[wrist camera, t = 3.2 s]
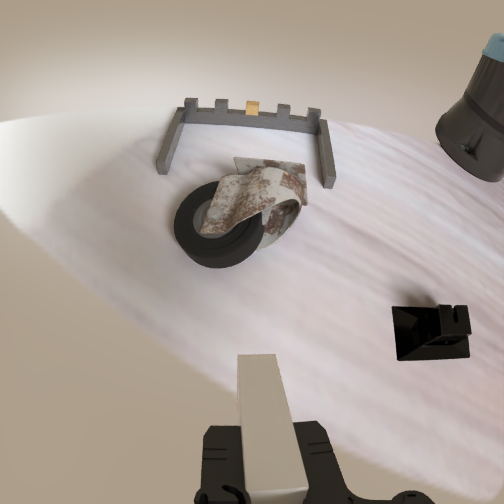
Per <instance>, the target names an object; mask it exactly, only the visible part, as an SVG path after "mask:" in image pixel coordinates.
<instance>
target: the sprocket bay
mask: <svg viewBox="0 0 504 504" xmlns="http://www.w3.org/2000/svg"><path fill="white" fill-rule="evenodd" d="M184 105H185V107H178V108H177V111H176V113H175V116H174V118H173V120H172V123H171V125H170V128H169V130H168V133H167V135H166V138H165V141H164V143H163V146H162V148H161V151H160V154H159V156H158V159H157V167H158V172H159V174H166V175H167V174H168V171H169V167H170V164H171V161H172V158H173V155H174V152H175V149H176V146H177V143H178V140H179V137H180V135H181V132H182V129H183V126H184V123H194V124H216V125H232V126H246V127H257V128H268V129H278V130H286V131H295V132H303V133H310V134H317V137H318V144H319V152H320V160H321V168H322V177H323V186H324V188H329V189H332V188H333V185H334V182H335V180H336V171H335V165H334V159H333V153H332V147H331V141H330V135H329V130H328V125H327V120H324V119H320V116H321V110H320V109H316V108H308V111H307V116H306V117H303V116H295V115H289V114H290V105H285V104H278V106H277V113H269V112H258V109H259V102H256V101H247V103H246V110H233V109H228V99H216V101H215V108H198V98H186V99H185V101H184Z"/></svg>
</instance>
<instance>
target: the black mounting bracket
mask: <svg viewBox="0 0 504 504" xmlns="http://www.w3.org/2000/svg"><path fill="white" fill-rule="evenodd" d="M392 314H393V323H394V332H395V342H396V353H397V360H398V361H416V360H441V359H458V358H469V357H470V351H469V341H468V336H469V335H471V334H472V332H471V325H470V319H469V313H468V307H467V305H455V306H454V308H452V305H441V304H439V305H438V306H437V307H435V308H428V307H400V306H392Z"/></svg>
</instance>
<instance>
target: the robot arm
mask: <svg viewBox="0 0 504 504" xmlns="http://www.w3.org/2000/svg"><path fill="white" fill-rule="evenodd" d="M482 53H483V55H482V57H481V59H480V61H479V64H478V66H477V68H476V70H475V72H474V74H473V76H472V78H471V80H470V82H469V84H468V87H467V89H466V90H465V92H464V95H463V96H462V98H461V99H460V100H459V101H458V102H457V103H456V104H455V105H454V106H453V107H452V108H450V110H449V111H448V112H447V113H445V114H443V115H442V116H441V118H440V119H439V121H438V123H437V125H436V128H435V132H436V136H437V138H438V140H439V142H440V144H441V145H442V147H443V148H444V149H445V150H446V152H447V153H448V154H449V155H450V156H451V157H452V158H453V159H454V160H455V161H456V162H457V163H458V164H459V165H460V166H462V167H463V168H464V169H466V170H467V171H468V172H470V173H471V174H473V175H475V176H476V177H478V178H480V179H483V180H485V181H489V182H498V181H500V180H501V179H502V178H503V176H504V34H502V33H495V34H493V35H492V36H491V37H490V39H489V41H488V43H487V45H486V47H485V49H483V51H482ZM237 410H238V426H210V427H209V429H208V430H207V432H206V433H205V435H204V438H203V453H202V470H201V488H200V489H199V490H198V491H197V493H196V495H195V498H194V503H195V504H435V503H434V502H433V501H432V500H431V499H430V498H429V497H428V496H426V495H425V494H424V493H421V492H418V491H404V492H401V493H399V494H397V495H396V496H395V497H394V498H393V499H392V500H368V499H363V498H360V497H358V496H356V495H354V494H353V493H352V492H351V491H350V490H349V489H348V488H347V486H346V484H345V482H344V479H343V476H342V474H341V471H340V468H339V465H338V462H337V459H336V457H335V454H334V453H333V448H332V446H331V443H330V440H329V437H328V435H327V432H326V430H325V429H324V428H323V427H322V426H321V425H320V424H319V423H318V422H317V421H306V422H294V423H293V422H292V418H291V414H290V410H289V406H288V403H287V399H286V395H285V391H284V387H283V383H282V379H281V375H280V371H279V367H278V363H277V359H276V355H275V354H263V355H238V367H237Z"/></svg>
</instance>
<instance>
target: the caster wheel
mask: <svg viewBox="0 0 504 504" xmlns="http://www.w3.org/2000/svg"><path fill="white" fill-rule="evenodd" d="M233 159H234V161H235V164H236V167H237V170H238V173H239V175H228V176H224V177H222V178H221V180H220V181H216V182H211V183H208V184H206V185H203V186H201V187H199V188H197V189H196V190H194V191H193V192H192V193H190V194H189V195H188V196H187V197H186V198H185V199H184V201H183V202H182V203H181V205H180V207H179V209H178V210H177V213H176V216H175V220H174V233H175V236H176V239H177V241H178V243H179V244H180V245H181V247H182V248H183V249H184V251H185V252H186V253H187V254H188V255H189V257H190V258H191V259H193V260H194V261H195V262H197V263H198V264H200V265H202V266H205V267H209V268H226V267H230V266H233V265H236V264H238V263H240V262H242V261H244V260H245V259H246V258H248V257H249V256H250V255H251V254H252V253H253V252H254V251H255V250H260V249H263V248H266V247H268V246H270V245H272V244H273V243H275V242H276V241H277V240H279V239H280V238H281V237H282V236H283V235H284V234H285V233H286V232H287V231H288V230H289V228H290V227H291V226H292V224H293V223H294V222H295V220H296V219H297V217H298V215H299V213H300V211H301V207H302V205H304V206H307V205H308V199H307V186H306V173H305V165H304V164H301V163H293V162H284V161H275V160H265V159H254V158H242V157H235V158H233Z"/></svg>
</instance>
